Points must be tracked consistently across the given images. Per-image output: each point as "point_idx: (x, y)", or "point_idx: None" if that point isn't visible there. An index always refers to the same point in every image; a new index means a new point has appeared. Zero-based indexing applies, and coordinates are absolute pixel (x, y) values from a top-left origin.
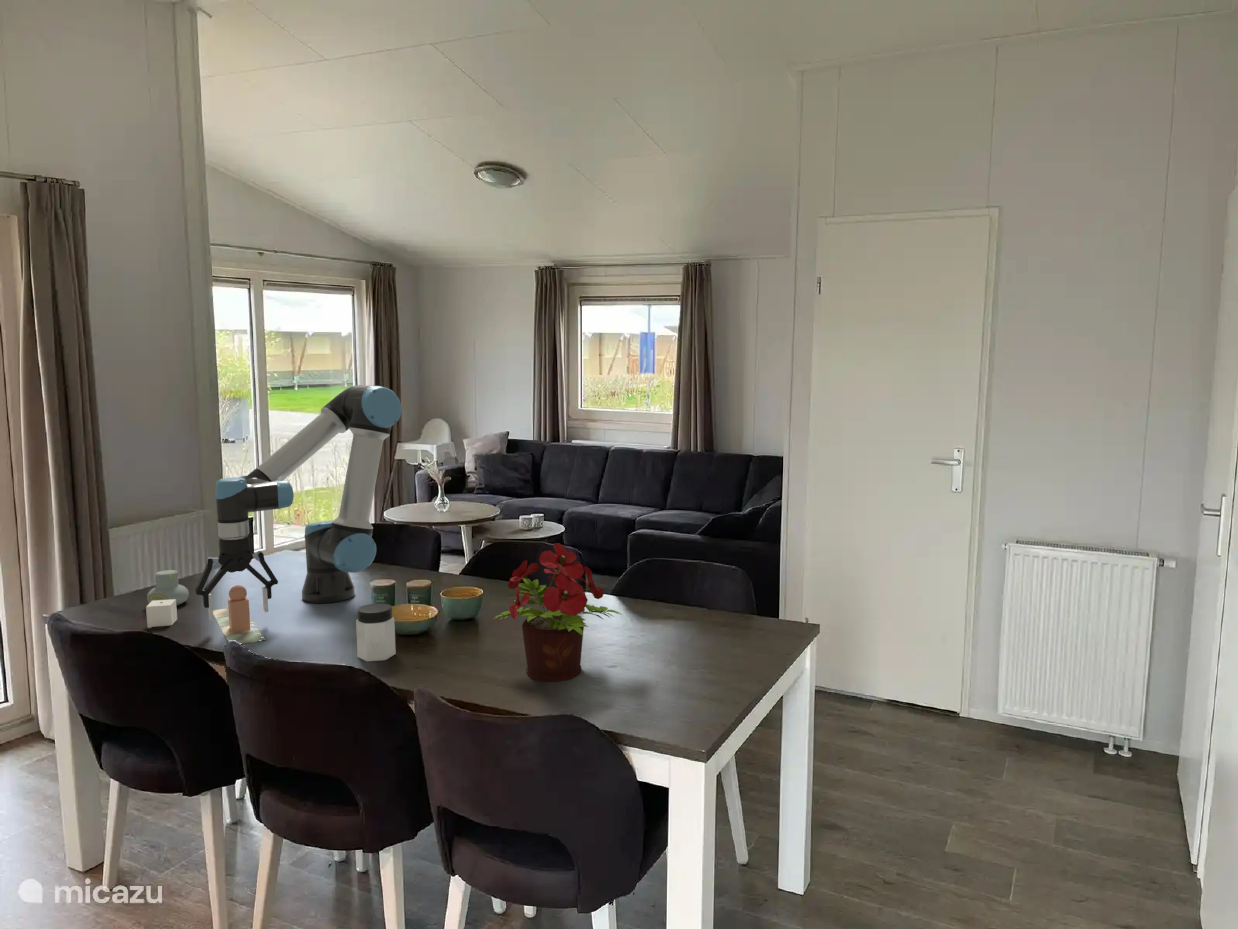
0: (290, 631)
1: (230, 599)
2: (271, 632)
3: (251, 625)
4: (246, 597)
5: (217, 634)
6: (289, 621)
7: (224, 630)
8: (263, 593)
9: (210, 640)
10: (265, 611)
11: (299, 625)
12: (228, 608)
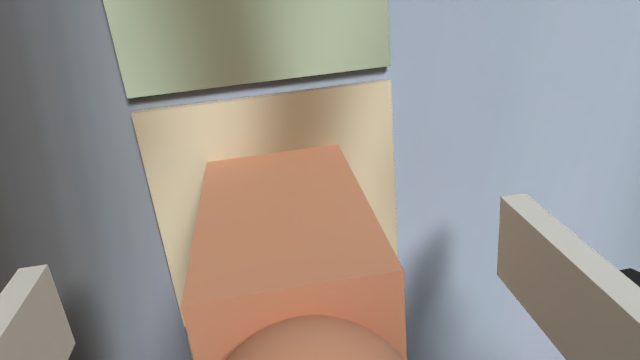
0: (550, 344)
1: (216, 351)
2: (455, 327)
3: (363, 168)
4: (403, 326)
5: (127, 253)
6: (610, 144)
7: (172, 216)
8: (601, 348)
9: (96, 356)
10: (501, 278)
11: (629, 255)
12: (193, 245)
